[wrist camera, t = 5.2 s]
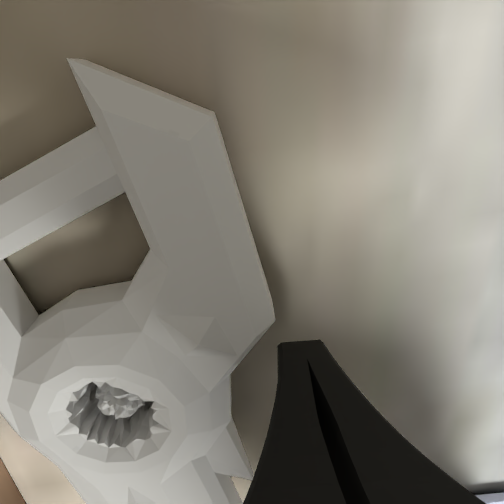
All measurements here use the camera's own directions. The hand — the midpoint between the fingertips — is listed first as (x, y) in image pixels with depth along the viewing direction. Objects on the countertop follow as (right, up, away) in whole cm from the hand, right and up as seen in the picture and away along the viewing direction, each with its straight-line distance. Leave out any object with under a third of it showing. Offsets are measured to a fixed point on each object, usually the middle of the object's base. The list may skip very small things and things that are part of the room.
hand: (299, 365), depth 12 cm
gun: (-5, 0, +2) cm, 6 cm away
